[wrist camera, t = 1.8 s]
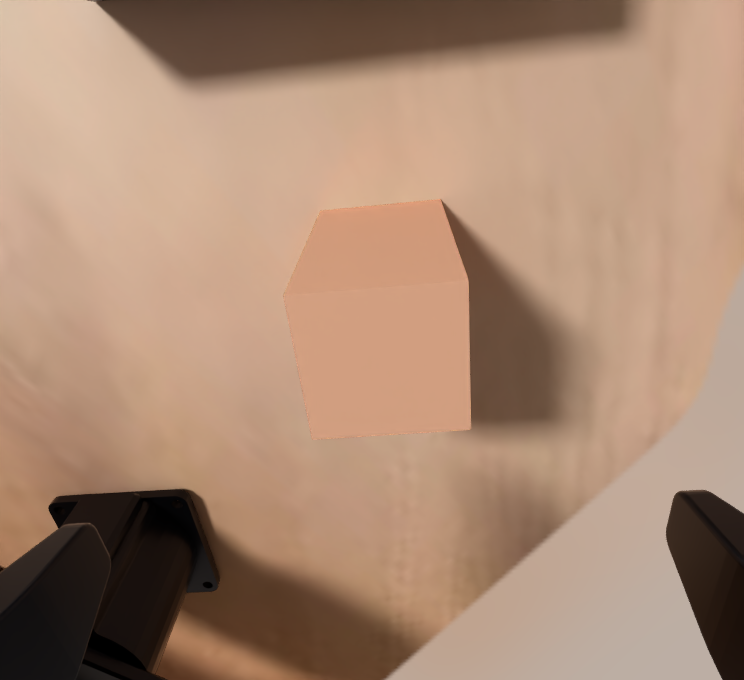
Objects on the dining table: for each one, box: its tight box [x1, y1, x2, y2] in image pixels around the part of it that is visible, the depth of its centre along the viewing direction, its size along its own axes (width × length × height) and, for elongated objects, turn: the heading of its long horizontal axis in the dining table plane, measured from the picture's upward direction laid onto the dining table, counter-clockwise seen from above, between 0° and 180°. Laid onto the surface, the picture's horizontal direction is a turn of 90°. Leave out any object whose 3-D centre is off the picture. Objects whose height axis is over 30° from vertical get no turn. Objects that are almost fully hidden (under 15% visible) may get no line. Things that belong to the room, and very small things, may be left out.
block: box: [283, 199, 471, 440], centre depth 15 cm, size 4×4×7 cm
